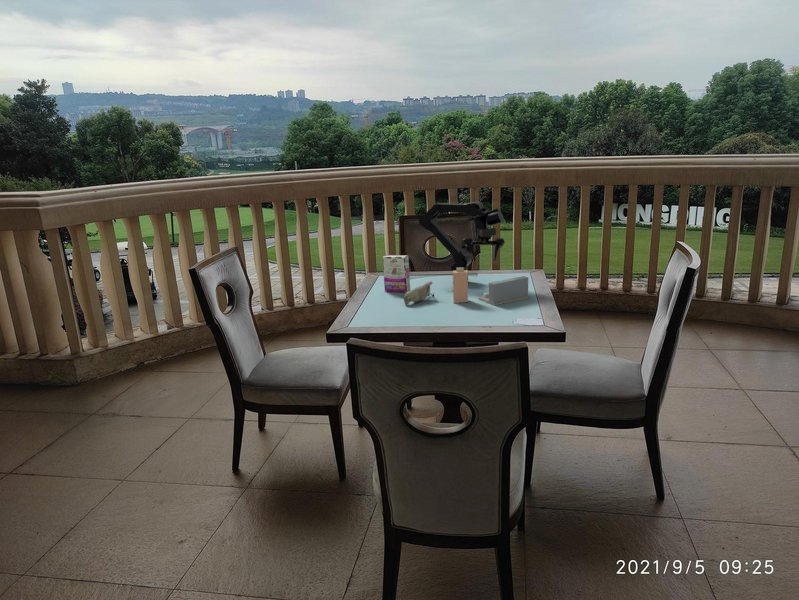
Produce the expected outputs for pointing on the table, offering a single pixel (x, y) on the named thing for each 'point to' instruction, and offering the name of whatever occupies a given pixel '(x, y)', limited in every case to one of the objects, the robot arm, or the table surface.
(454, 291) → the tan tall block
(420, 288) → the decorative bird
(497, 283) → the wall board
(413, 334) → the table surface
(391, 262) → the candy bar box
